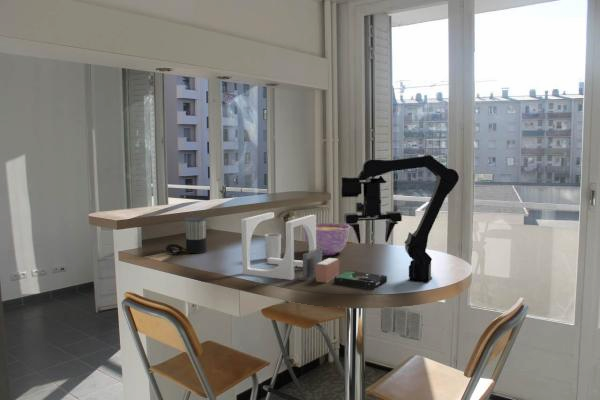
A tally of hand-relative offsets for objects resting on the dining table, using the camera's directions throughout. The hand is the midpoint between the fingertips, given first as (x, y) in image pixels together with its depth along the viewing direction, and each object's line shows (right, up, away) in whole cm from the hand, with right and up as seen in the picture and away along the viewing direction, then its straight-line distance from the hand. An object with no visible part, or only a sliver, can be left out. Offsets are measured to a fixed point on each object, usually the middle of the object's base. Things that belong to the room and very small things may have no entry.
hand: (372, 242), depth 172 cm
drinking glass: (-36, -10, +35) cm, 51 cm away
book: (-15, -13, +4) cm, 20 cm away
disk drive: (-4, -14, -2) cm, 15 cm away
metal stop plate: (-21, -12, +7) cm, 25 cm away
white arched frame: (-32, -12, +16) cm, 38 cm away
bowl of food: (-13, -9, +44) cm, 47 cm away
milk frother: (-74, -9, +50) cm, 90 cm away
